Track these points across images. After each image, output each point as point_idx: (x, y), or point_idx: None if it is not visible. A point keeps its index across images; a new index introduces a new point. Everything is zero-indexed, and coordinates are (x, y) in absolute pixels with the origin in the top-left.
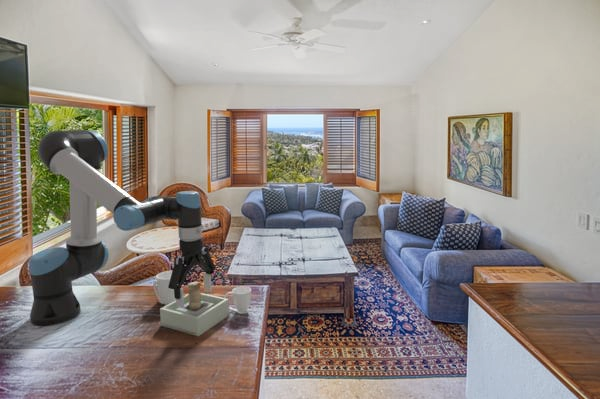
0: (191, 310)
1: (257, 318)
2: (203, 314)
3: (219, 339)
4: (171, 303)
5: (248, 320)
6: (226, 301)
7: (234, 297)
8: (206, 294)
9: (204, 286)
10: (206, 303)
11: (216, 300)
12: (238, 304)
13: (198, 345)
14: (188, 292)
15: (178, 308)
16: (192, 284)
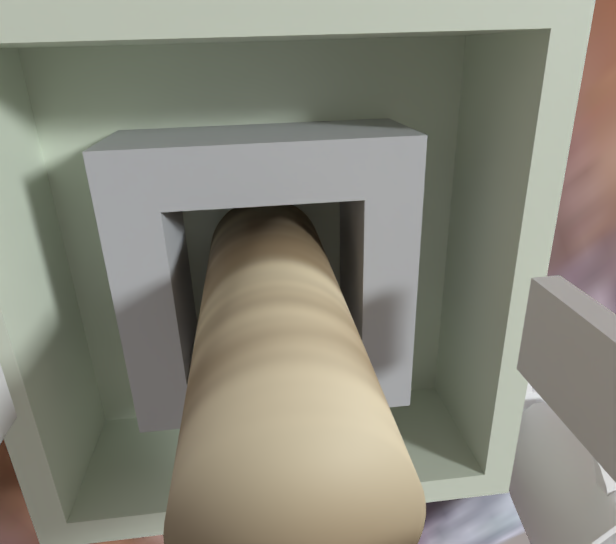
0: (175, 334)
1: (469, 539)
2: (135, 535)
3: (151, 536)
4: (96, 18)
5: (427, 518)
6: (470, 488)
7: (547, 518)
8: (541, 243)
9: (573, 320)
10: (384, 342)
11: (483, 371)
12: (516, 491)
13: (15, 496)
14: (192, 385)
15: (119, 167)
16: (273, 516)
